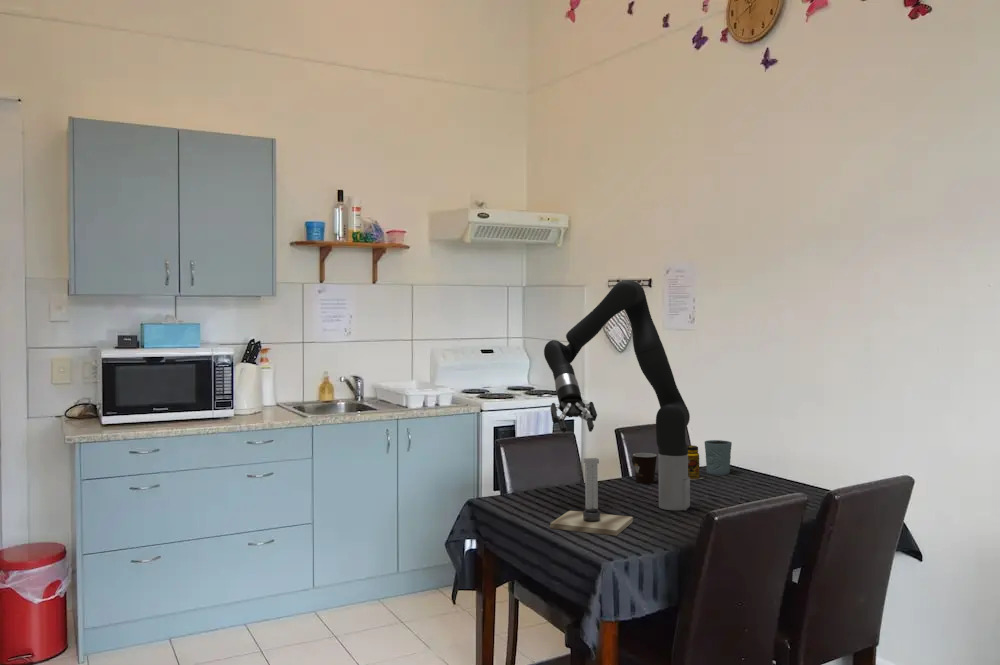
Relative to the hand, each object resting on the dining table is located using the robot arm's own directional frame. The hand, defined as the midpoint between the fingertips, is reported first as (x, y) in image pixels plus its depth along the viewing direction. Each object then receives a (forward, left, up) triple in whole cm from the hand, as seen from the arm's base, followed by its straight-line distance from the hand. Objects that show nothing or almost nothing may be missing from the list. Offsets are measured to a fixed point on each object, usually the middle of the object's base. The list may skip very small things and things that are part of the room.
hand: (577, 430), depth 249 cm
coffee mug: (-7, -52, -26) cm, 58 cm away
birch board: (-9, +13, -26) cm, 30 cm away
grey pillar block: (-9, +13, -24) cm, 29 cm away
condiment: (-21, -65, -26) cm, 73 cm away
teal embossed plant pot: (-29, -78, -26) cm, 87 cm away
